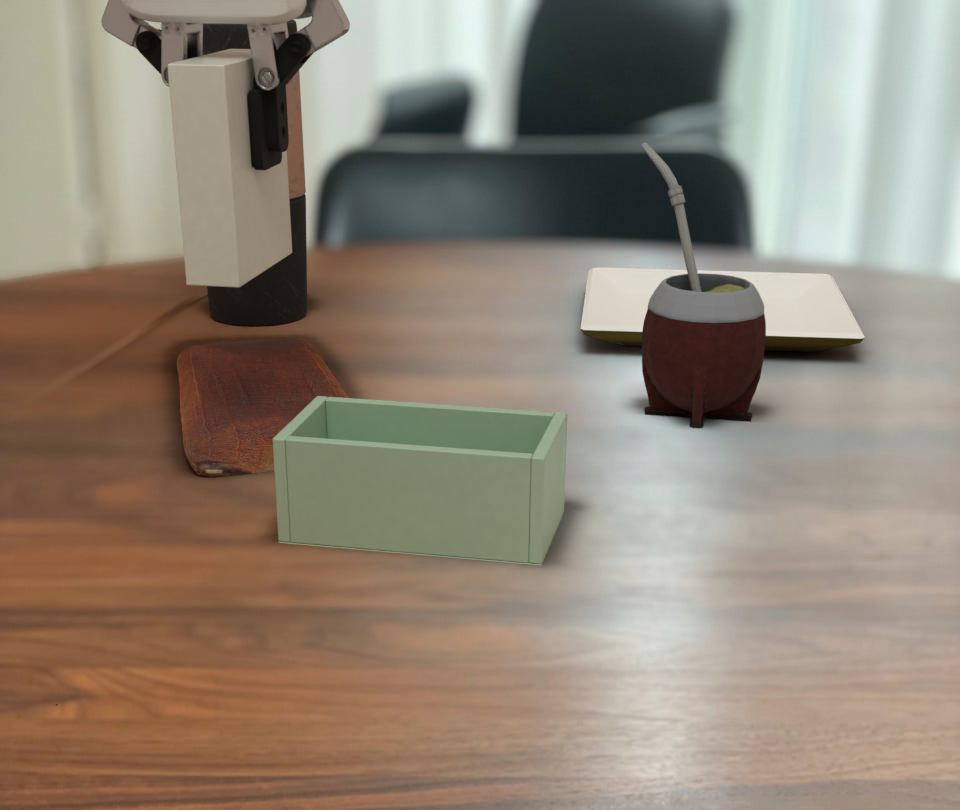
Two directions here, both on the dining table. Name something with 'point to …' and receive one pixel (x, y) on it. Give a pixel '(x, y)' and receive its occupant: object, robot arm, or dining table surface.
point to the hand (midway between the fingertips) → (234, 161)
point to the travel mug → (285, 282)
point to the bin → (421, 479)
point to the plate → (786, 296)
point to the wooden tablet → (245, 400)
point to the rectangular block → (224, 174)
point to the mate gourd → (701, 336)
